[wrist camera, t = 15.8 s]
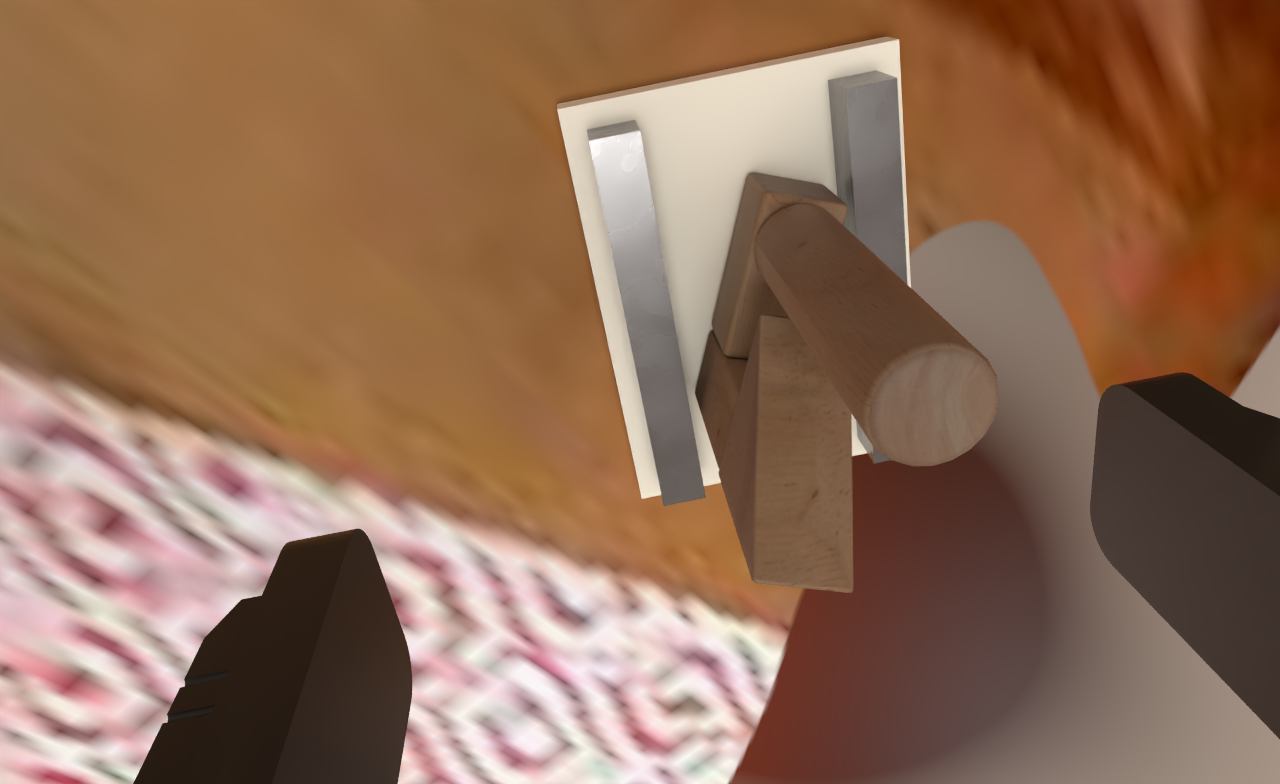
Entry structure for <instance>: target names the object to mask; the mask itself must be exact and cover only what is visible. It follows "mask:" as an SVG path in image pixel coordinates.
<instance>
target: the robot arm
mask: <svg viewBox="0 0 1280 784" xmlns="http://www.w3.org/2000/svg"><path fill="white" fill-rule="evenodd" d="M1090 513H1091V521H1092V526H1093V530H1094V533H1095V536H1096V539H1097V541H1098V544H1099V546H1100V548H1101V550H1102V551H1103V553H1104V555H1105V556H1106V558H1107V559H1108V560H1109V562H1110V563H1111V564H1112V565H1113V566H1114V567H1115V568H1116V569H1117V570H1118V572H1119V573H1121V575H1122V576H1123V577H1124V578H1125V579H1126V580H1127V581H1128V582H1129V583H1130V584H1131V585H1132V586H1133V587H1134V588H1135V589H1136V590H1137V591H1138V592H1139V593H1140V594H1141V595H1142V596H1143V597H1144V599H1145V600H1147V602H1148V603H1149V604H1150V605H1151V606H1152V607H1153V608H1154V609H1155V610H1156V611H1157V612H1158V613H1159V614H1160V615H1161V616H1162V617H1163V618H1164V619H1165V620H1166V621H1167V622H1168V623H1169V625H1170V626H1171V627H1172V628H1173V629H1174V630H1176V632H1177V633H1178V634H1179V635H1180V636H1181V637H1182V638H1183V639H1184V640H1185V641H1186V642H1187V643H1188V644H1189V645H1190V646H1191V647H1192V648H1193V650H1195V652H1196V653H1197V654H1198V655H1199V656H1200V657H1201V658H1202V659H1203V660H1204V661H1205V662H1206V663H1207V664H1208V665H1209V666H1210V667H1211V668H1212V669H1213V670H1214V671H1215V672H1216V673H1217V674H1218V675H1219V677H1221V679H1222V680H1223V681H1224V682H1225V683H1226V684H1227V685H1228V686H1229V687H1230V688H1231V689H1232V690H1233V691H1234V692H1235V693H1236V694H1237V695H1238V696H1239V697H1240V698H1241V699H1242V700H1243V701H1244V703H1246V705H1247V706H1249V708H1250V709H1251V710H1252V711H1253V712H1254V713H1255V714H1256V715H1257V716H1258V717H1259V718H1260V719H1261V720H1262V721H1263V722H1264V723H1265V724H1266V725H1267V726H1268V727H1269V729H1270V730H1271V731H1273V733H1274V734H1275V735H1276V736H1277V737H1278V738H1279V739H1280V419H1279V418H1277V417H1274V416H1271V415H1268V414H1265V413H1262V412H1259V411H1256V410H1253V409H1250V408H1247V407H1244V406H1242V405H1240V404H1239V403H1237V402H1236V401H1234V400H1232V399H1231V398H1229V397H1228V396H1226V395H1224V394H1223V393H1221V392H1220V391H1218V390H1216V389H1215V388H1213V387H1212V386H1210V385H1208V384H1207V383H1205V382H1204V381H1202V380H1200V379H1199V378H1197V377H1195V376H1193V375H1191V374H1189V373H1174V374H1169V375H1164V376H1159V377H1153V378H1148V379H1143V380H1138V381H1133V382H1127V383H1122V384H1117V385H1113V386H1110V387H1109V388H1107V389H1106V391H1105V392H1104V393H1103V395H1102V397H1101V400H1100V403H1099V409H1098V419H1097V431H1096V444H1095V455H1094V467H1093V480H1092V490H1091V502H1090ZM184 680H185V687H181V688H180V689H179V691H178V693H177V695H176V697H175V699H174V701H173V704H172V706H171V708H170V710H169V712H168V714H167V715H168V723H163V724H162V726H161V728H160V730H159V732H158V734H157V736H156V738H155V740H154V742H153V744H152V747H151V749H150V751H149V753H148V755H147V757H146V759H145V761H144V763H143V765H142V767H141V769H140V771H139V773H138V775H137V777H136V779H135V781H134V783H133V784H397V783H398V777H399V771H400V765H401V759H402V753H403V747H404V741H405V735H406V729H407V723H408V717H409V711H410V705H411V698H412V671H411V662H410V656H409V650H408V646H407V642H406V639H405V636H404V633H403V630H402V628H401V625H400V622H399V619H398V616H397V614H396V611H395V608H394V605H393V602H392V600H391V597H390V594H389V591H388V588H387V586H386V583H385V580H384V577H383V574H382V572H381V569H380V566H379V563H378V561H377V558H376V555H375V552H374V549H373V547H372V544H371V542H370V540H369V538H368V536H367V535H366V533H365V532H364V531H363V530H361V529H354V530H348V531H343V532H338V533H333V534H328V535H322V536H317V537H312V538H307V539H302V540H296V541H291V542H288V543H286V544H285V546H284V547H283V549H282V550H281V553H280V555H279V557H278V560H277V562H276V564H275V566H274V569H273V571H272V573H271V576H270V578H269V580H268V583H267V585H266V587H265V590H264V592H263V594H262V596H258V597H253V598H248V599H242V600H241V601H240V602H239V603H238V604H237V605H236V606H235V607H234V608H233V609H232V610H231V611H230V612H229V613H228V614H227V615H226V616H225V617H224V618H223V619H222V620H221V621H220V623H219V624H218V625H217V626H216V627H215V628H214V629H213V630H212V631H211V632H210V633H209V634H208V635H207V636H206V637H205V638H204V640H203V642H202V644H201V646H200V648H199V650H198V652H197V654H196V656H195V658H194V660H193V663H192V665H191V667H190V669H189V671H188V673H187V675H186V677H185V679H184Z"/></svg>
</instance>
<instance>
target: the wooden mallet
mask: <svg viewBox="0 0 1280 784" xmlns="http://www.w3.org/2000/svg"><path fill="white" fill-rule="evenodd" d="M847 211H848V209H847V204H846V203H844V202H843V201H842V200H841V199H840V198H839V197H837V196H836V195H835V194H834V193H833V192H831V191H830V190H829V189H828V188H827V187H825V186H824V185H823V184H818V183H812V182H807V181H801V180H795V179H790V178H784V177H778V176H773V175H767V174H761V173H756V172H754V173H750V174H749V175H748V176H747V178H746V180H745V185H744V189H743V193H742V197H741V201H740V206H739V210H738V214H737V218H736V222H735V227H734V231H733V235H732V239H731V244H730V248H729V252H728V256H727V260H726V265H725V269H724V273H723V277H722V281H721V286H720V290H719V294H718V298H717V302H716V307H715V311H714V315H713V319H712V327H713V331H711V333H710V335H709V336H708V340H707V344H706V348H705V352H704V357H703V361H702V365H701V369H700V373H699V378H698V382H697V386H696V390H695V395H696V399H697V402H698V405H699V409H700V412H701V415H702V418H703V421H704V424H705V427H706V430H707V434H708V437H709V440H710V443H711V446H712V449H713V452H714V455H715V459H716V462H717V465H718V468H719V477H720V480H721V484H722V487H723V490H724V493H725V496H726V499H727V503H728V506H729V509H730V512H731V515H732V518H733V521H734V525H735V528H736V531H737V534H738V537H739V540H740V544H741V547H742V550H743V553H744V556H745V559H746V563H747V566H748V569H749V572H750V575H751V578H752V580H753V581H754V582H755V583H759V584H769V585H779V586H789V587H799V588H808V589H819V590H828V591H838V592H848V593H850V592H852V591H853V518H852V517H853V512H852V415H853V416H854V418H855V419H856V421H857V422H858V424H859V425H860V427H861V429H862V430H863V432H864V433H865V435H866V436H867V438H868V439H869V441H870V442H871V444H872V445H873V447H874V448H875V449H876V450H877V451H879V452H880V453H881V454H883V455H884V456H886V457H887V458H888V459H890V460H893V461H897V462H900V463H904V464H907V465H911V466H933V465H937V464H940V463H944V462H947V461H950V460H953V459H955V458H956V457H958V456H960V455H961V454H963V453H965V452H966V451H968V450H970V449H971V448H972V447H973V446H974V445H975V444H976V443H977V442H978V441H979V440H980V439H981V438H982V437H983V436H984V435H985V433H986V432H987V430H988V428H989V426H990V425H991V423H992V421H993V420H994V418H995V414H996V410H997V405H998V401H999V394H998V385H997V377H996V374H995V372H994V370H993V369H992V367H991V365H990V363H989V361H988V359H987V358H985V357H984V356H983V355H982V354H981V353H980V352H979V351H978V350H977V349H976V348H975V347H973V345H971V343H969V342H968V341H967V340H966V339H965V338H964V337H963V336H962V335H961V334H960V333H959V332H958V331H957V330H956V329H954V328H953V327H952V326H951V325H950V324H949V323H948V322H947V321H946V320H945V319H944V318H943V317H942V316H940V315H939V314H938V313H937V312H936V311H935V310H934V309H933V308H932V307H931V306H930V305H929V304H928V303H926V302H925V301H924V300H923V299H922V298H921V297H920V296H919V295H918V294H917V293H916V292H915V291H914V290H912V289H911V288H910V287H909V286H908V285H907V284H906V283H905V282H904V281H903V280H902V279H901V278H900V277H899V276H897V275H896V274H895V273H894V272H893V271H892V270H891V269H890V268H889V267H888V266H887V265H886V264H885V263H883V262H882V261H881V260H880V259H879V258H878V257H877V256H876V255H875V254H874V253H873V252H872V251H871V250H869V249H868V248H867V247H866V246H865V245H864V244H863V243H862V242H861V241H860V240H859V239H858V238H857V237H855V236H854V235H853V234H852V233H851V232H850V231H849V230H848V229H847V228H846V227H845V226H844V225H843V224H844V221H845V218H846V214H847Z"/></svg>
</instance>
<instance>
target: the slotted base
mask: <svg viewBox="0 0 1280 784" xmlns="http://www.w3.org/2000/svg"><path fill="white" fill-rule="evenodd" d="M557 111H558V115H559V120H560V125H561V129H562V134H563V138H564V143H565V148H566V152H567V157H568V161H569V166H570V171H571V175H572V180H573V184H574V189H575V194H576V198H577V203H578V207H579V212H580V216H581V221H582V226H583V230H584V235H585V239H586V244H587V249H588V253H589V258H590V262H591V267H592V272H593V276H594V281H595V285H596V290H597V295H598V299H599V304H600V308H601V313H602V317H603V322H604V327H605V331H606V336H607V340H608V345H609V350H610V354H611V359H612V363H613V368H614V373H615V377H616V382H617V386H618V391H619V396H620V400H621V405H622V409H623V414H624V419H625V423H626V428H627V432H628V437H629V441H630V446H631V451H632V455H633V460H634V464H635V469H636V474H637V478H638V483H639V487H640V492H641V497H642V499H643V498H648V497H653V496H658V495H662V500H663V505H664V506H666V505H671V504H676V503H681V502H686V501H691V500H696V499H701V498H706V496H705V490H704V486H707V485H712V484H717V483H721V480H720V477H719V468H718V465H717V462H716V459H715V455H714V452H713V449H712V446H711V443H710V440H709V437H708V434H707V430H706V427H705V424H704V421H703V418H702V415H701V412H700V409H699V405H698V402H697V399H696V395H695V390H696V386H697V382H698V378H699V373H700V369H701V365H702V361H703V357H704V352H705V348H706V344H707V340H708V336H709V335H710V333H711V331H713V327H712V319H713V315H714V311H715V307H716V302H717V298H718V294H719V290H720V286H721V281H722V277H723V273H724V269H725V265H726V260H727V256H728V252H729V248H730V244H731V239H732V235H733V231H734V227H735V222H736V218H737V214H738V210H739V206H740V201H741V197H742V193H743V189H744V185H745V180H746V178H747V176H748V175H749V174H750V173H754V172H756V173H761V174H767V175H773V176H778V177H784V178H790V179H795V180H801V181H807V182H812V183H818V184H823V185H824V186H825V187H827V188H828V189H829V190H830V191H831V192H833V193H834V194H835V195H836V196H837V197H839V198H840V199H841V200H842V201H843V202H844V203H846V204H847V209H848V211H847V214H846V218H845V221H844V224H843V225H844V226H845V227H846V228H847V229H848V230H849V231H850V232H851V233H852V234H853V235H854V236H855V237H857V238H858V239H859V240H860V241H861V242H862V243H863V244H864V245H865V246H866V247H867V248H868V249H869V250H871V251H872V252H873V253H874V254H875V255H876V256H877V257H878V258H879V259H880V260H881V261H882V262H883V263H885V264H886V265H887V266H888V267H889V268H890V269H891V270H892V271H893V272H894V273H895V274H896V275H897V276H899V277H900V278H901V279H902V280H903V281H904V282H905V283H906V284H907V285H908V286H909V287H910V288H911V282H910V281H911V280H910V259H909V238H908V217H907V196H906V175H905V155H904V134H903V113H902V92H901V71H900V50H899V39H895V38H891V37H887V36H886V37H881V38H876V39H872V40H867V41H862V42H857V43H852V44H847V45H842V46H837V47H833V48H828V49H823V50H818V51H813V52H808V53H803V54H798V55H794V56H789V57H784V58H779V59H774V60H769V61H764V62H759V63H755V64H750V65H745V66H740V67H735V68H730V69H725V70H720V71H715V72H711V73H706V74H701V75H696V76H691V77H686V78H681V79H676V80H672V81H667V82H662V83H657V84H652V85H647V86H642V87H637V88H633V89H628V90H623V91H618V92H613V93H608V94H603V95H598V96H593V97H589V98H584V99H579V100H574V101H569V102H564V103H559V104H557ZM865 453H868V455H869V456H870V458H871V459H872V461H873V463H878V462H883V461H888V460H890V459H888V458H887V457H886V456H884V455H883V454H881V453H880V452H879V451H877V450H876V449H875V448H874V447H873V445H872V444H871V442H870V441H869V439H868V438H867V436H866V435H865V433H864V432H863V430H862V429H861V427H860V425H859V424H858V422H857V421H856V419H855V418H854V416H853V415H852V456H855V455H860V454H865Z"/></svg>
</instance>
